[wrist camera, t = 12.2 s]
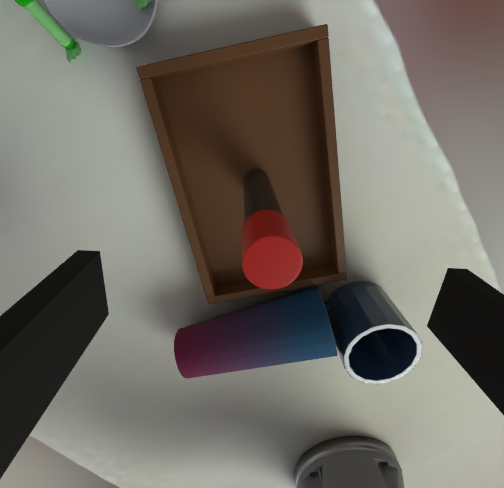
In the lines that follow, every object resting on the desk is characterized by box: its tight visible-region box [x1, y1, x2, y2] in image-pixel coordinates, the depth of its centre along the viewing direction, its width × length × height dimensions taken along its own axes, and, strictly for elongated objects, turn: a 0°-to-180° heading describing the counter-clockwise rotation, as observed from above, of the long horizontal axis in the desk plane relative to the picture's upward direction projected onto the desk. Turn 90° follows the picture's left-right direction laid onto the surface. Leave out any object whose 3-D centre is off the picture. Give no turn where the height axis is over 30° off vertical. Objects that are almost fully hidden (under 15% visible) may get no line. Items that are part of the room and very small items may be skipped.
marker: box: [242, 169, 303, 289], centre depth 20 cm, size 3×3×16 cm
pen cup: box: [325, 282, 422, 384], centre depth 31 cm, size 7×7×7 cm
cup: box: [174, 286, 337, 378], centre depth 31 cm, size 7×7×15 cm
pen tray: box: [136, 24, 347, 304], centre depth 27 cm, size 21×14×3 cm, turn 11°
